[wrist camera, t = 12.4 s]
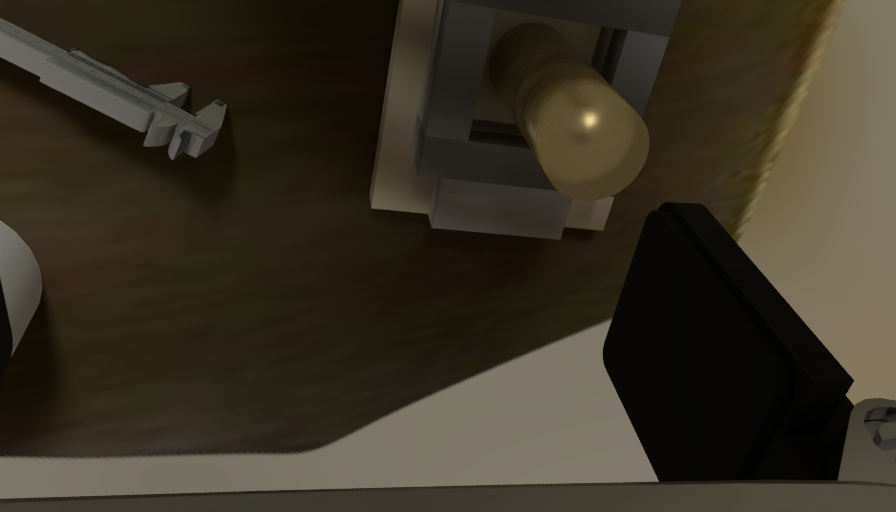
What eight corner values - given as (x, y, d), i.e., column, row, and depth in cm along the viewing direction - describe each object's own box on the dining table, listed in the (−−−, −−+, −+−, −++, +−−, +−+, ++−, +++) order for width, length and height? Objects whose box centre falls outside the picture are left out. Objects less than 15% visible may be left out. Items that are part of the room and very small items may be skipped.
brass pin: (499, 16, 35) (562, 94, 26) (580, 30, 36) (664, 109, 27) (480, 98, 37) (532, 195, 28) (557, 109, 38) (628, 205, 29)
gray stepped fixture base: (424, -163, 32) (439, -156, 28) (699, -104, 35) (747, -91, 31) (369, 194, 40) (375, 237, 36) (594, 217, 43) (621, 259, 39)
